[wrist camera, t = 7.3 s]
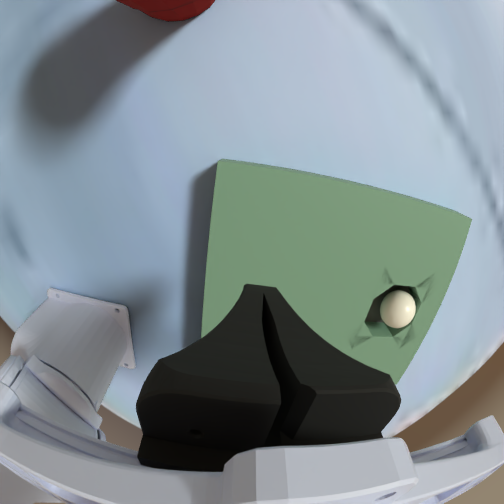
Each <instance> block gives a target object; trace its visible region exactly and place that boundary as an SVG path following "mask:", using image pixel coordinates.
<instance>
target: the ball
mask: <svg viewBox="0 0 504 504" xmlns="http://www.w3.org/2000/svg"><path fill="white" fill-rule="evenodd" d="M415 311H416V305H415V301H414V299H413V298H412V296H411V295H410V294H409V293H407V292H405V291H402V290H396V291H392V292H390V293H389V294H387V295H386V296H385V297H384V299H383V300H382V303H381V306H380V315H381V318H382V320H383V321H384V322H385V324H387V325H388V326H390V327H393V328H401V327H404V326H406V325H407V324H409V323H410V322H411V321H412V319H413V317H414V315H415Z"/></svg>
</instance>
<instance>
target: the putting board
mask: <svg viewBox="0 0 504 504" xmlns="http://www.w3.org/2000/svg"><path fill="white" fill-rule="evenodd" d="M471 221H472V219H471V218H469V217H467V216H465V215H463V214H460V213H458V212H456V211H454V210H451V209H448V208H445V207H442V206H439V205H436V204H433V203H429V202H426V201H423V200H420V199H416V198H413V197H410V196H406V195H403V194H399V193H395V192H392V191H388V190H384V189H380V188H377V187H373V186H369V185H365V184H360V183H356V182H352V181H348V180H343V179H339V178H334V177H329V176H325V175H320V174H315V173H310V172H305V171H299V170H294V169H288V168H282V167H276V166H270V165H264V164H257V163H250V162H243V161H236V160H228V159H221V160H219V161H218V164H217V171H216V179H215V187H214V196H213V204H212V213H211V223H210V232H209V242H208V253H207V264H206V275H205V288H204V301H203V315H202V331H201V338H202V337H204V336H205V335H206V334H208V333H209V332H210V331H211V330H212V329H214V328H215V327H216V326H217V325H218V324H219V323H220V322H221V321H222V320H223V319H224V318H225V316H226V315H227V314H228V313H229V312H230V310H231V309H232V308H233V306H234V305H235V303H236V302H237V300H238V299H239V297H240V295H241V293H242V291H243V286H244V285H245V284H254V285H262V286H270V287H276V288H277V289H278V290H279V292H280V293H281V294H282V296H283V297H284V298H285V300H286V301H287V302H288V304H289V305H290V306H291V307H292V308H293V310H294V311H295V312H296V313H297V314H298V315H299V316H300V318H301V319H302V320H303V321H304V322H305V323H306V324H307V325H308V326H309V327H310V328H311V329H312V330H313V331H315V332H316V333H317V334H318V335H319V336H321V337H322V338H323V339H324V340H326V341H327V342H328V343H330V344H331V345H332V346H334V347H335V348H337V349H338V350H340V351H341V352H343V353H345V354H346V355H348V356H350V357H351V358H353V359H355V360H357V361H359V362H361V363H363V364H365V365H367V366H370V367H372V368H374V369H377V370H379V371H382V372H384V373H387V374H390V376H391V378H392V380H393V382H394V384H397V383H398V381H399V380H400V378H401V377H402V375H403V374H404V372H405V370H406V369H407V367H408V366H409V364H410V362H411V361H412V359H413V357H414V355H415V354H416V352H417V350H418V348H419V347H420V345H421V343H422V341H423V339H424V337H425V336H426V334H427V332H428V330H429V328H430V326H431V324H432V322H433V320H434V318H435V316H436V314H437V312H438V309H439V307H440V305H441V303H442V301H443V298H444V296H445V294H446V292H447V289H448V287H449V284H450V282H451V280H452V277H453V274H454V272H455V269H456V267H457V264H458V261H459V258H460V256H461V253H462V250H463V247H464V244H465V241H466V238H467V234H468V231H469V228H470V224H471ZM396 290H402V291H405V292H407V293H409V294H410V295H411V296H412V298H413V299H414V301H415V305H416V311H415V315H414V317H413V319H412V321H411V322H410V323H409V324H407V325H406V326H404V327H401V328H393V327H390V326H388V325H387V324H385V322H384V321H383V320H382V318H381V315H380V306H381V303H382V300H383V299H384V297H385V296H386V295H387V294H389V293H390V292H392V291H396Z"/></svg>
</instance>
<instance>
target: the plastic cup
mask: <svg viewBox="0 0 504 504" xmlns="http://www.w3.org/2000/svg"><path fill="white" fill-rule="evenodd" d="M116 1H118V2H121V3H123V4H125V5H127V6H129V7H131V8H133V9H137V10H140V11H142V12H144V13H145V14H147V15H149V16H151V17H153V18H157V19H161V20H165V21H168V22H169V21H183V20H186V19H189V18H191V17H194V16H197V15H199V14H201V13H202V12H203V11H205V10H206V9H208V8H210V7H211V5H212V4H213V3H214V1H215V0H116Z"/></svg>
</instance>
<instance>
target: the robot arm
mask: <svg viewBox="0 0 504 504" xmlns="http://www.w3.org/2000/svg"><path fill="white" fill-rule="evenodd" d="M47 294H48V299H47V300H46V301H45V302H44V303H43V304H42V305H41V306H40V307H39V308H38V309H37V310H36V311H35V312H34V313H33V314H32V315H31V316H30V317H29V318H28V319H27V320H26V321H25V322H24V323H23V324H22V325H21V326H20V327H19V329H18V330H17V332H16V333H15V336H14V338H13V341H12V345H11V355H10V356H9V357H8V358H7V360H6V361H5V362H4V363H3V364H2V365H1V366H0V504H33V503H36V502H47V503H65V504H443V503H445V502H447V501H449V500H451V499H453V498H455V497H457V496H458V495H460V494H462V493H464V492H466V491H467V490H469V489H471V488H473V487H474V486H475V485H477V484H478V483H480V482H481V481H483V480H484V479H485V478H487V477H488V476H489V475H491V474H492V473H493V472H494V471H496V470H497V469H498V468H499V467H500V466H502V465H503V464H504V434H503V432H502V430H501V429H500V427H499V425H498V423H497V422H496V420H495V418H494V417H493V415H491V416H489V417H487V418H484V419H482V420H480V421H478V422H476V423H475V424H473V425H472V426H471V427H470V428H469V429H468V430H467V431H466V433H465V434H464V435H462V436H460V437H457V438H454V439H451V440H449V441H446V442H443V443H440V444H437V445H434V446H431V447H428V448H425V449H421V450H418V451H414V452H411V453H409V450H408V448H407V445H406V443H405V442H404V441H403V439H402V438H383V436H382V433H381V431H382V430H383V429H384V428H385V426H386V425H387V424H388V423H389V422H390V420H391V419H392V418H393V417H394V415H395V414H396V412H397V411H398V409H399V407H400V403H401V398H400V394H399V392H398V390H397V388H396V386H395V384H394V382H393V380H392V378H391V376H390V374H387V373H384V372H382V371H379V370H377V369H374V368H372V367H370V366H367V365H365V364H363V363H361V362H359V361H357V360H355V359H353V358H351V357H350V356H348V355H346V354H345V353H343V352H341V351H340V350H338V349H337V348H335V347H334V346H332V345H331V344H330V343H328V342H327V341H326V340H324V339H323V338H322V337H321V336H319V335H318V334H317V333H316V332H315V331H313V330H312V329H311V328H310V327H309V326H308V325H307V324H306V323H305V322H304V321H303V320H302V319H301V318H300V316H299V315H298V314H297V313H296V312H295V311H294V310H293V308H292V307H291V306H290V305H289V304H288V302H287V301H286V300H285V298H284V297H283V296H282V294H281V293H280V292H279V290H278V289H277V288H276V287H270V286H262V285H254V284H245V285H244V286H243V291H242V293H241V295H240V297H239V299H238V300H237V302H236V303H235V305H234V306H233V308H232V309H231V310H230V312H229V313H228V314H227V315H226V316H225V318H224V319H223V320H222V321H221V322H220V323H219V324H218V325H217V326H216V327H215V328H214V329H212V330H211V331H210V332H209V333H208V334H206V335H205V336H204V337H202V338H201V339H200V340H198V341H197V342H195V343H193V344H192V345H190V346H188V347H187V348H185V349H183V350H181V351H179V352H177V353H174V354H172V355H169V356H167V357H164V358H161V359H159V360H158V362H157V363H156V364H155V366H154V367H153V369H152V370H151V372H150V373H149V375H148V377H147V378H146V380H145V382H144V384H143V386H142V389H141V391H140V394H139V397H138V400H137V403H136V412H137V415H138V419H139V422H140V425H141V429H142V432H143V437H142V440H141V444H140V448H139V451H134V450H131V449H127V448H124V447H121V446H118V445H114V444H111V443H108V442H106V437H105V434H104V433H103V432H102V430H100V429H99V427H100V424H101V422H102V418H101V417H100V416H99V415H98V414H97V411H98V409H99V407H100V405H101V402H102V400H103V398H104V396H105V394H106V392H107V389H108V387H109V385H110V383H111V381H112V379H113V377H114V375H115V373H116V371H117V369H118V367H119V366H122V367H126V368H130V369H134V368H135V366H136V363H135V357H134V351H133V344H132V337H131V329H130V321H129V312H128V309H127V307H126V306H124V305H120V304H115V303H111V302H106V301H102V300H97V299H93V298H89V297H85V296H81V295H77V294H73V293H69V292H65V291H61V290H58V289H54V288H49V289H48V290H47ZM116 308H117V309H119V311H118V310H117V309H116ZM126 363H127V364H126Z"/></svg>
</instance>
